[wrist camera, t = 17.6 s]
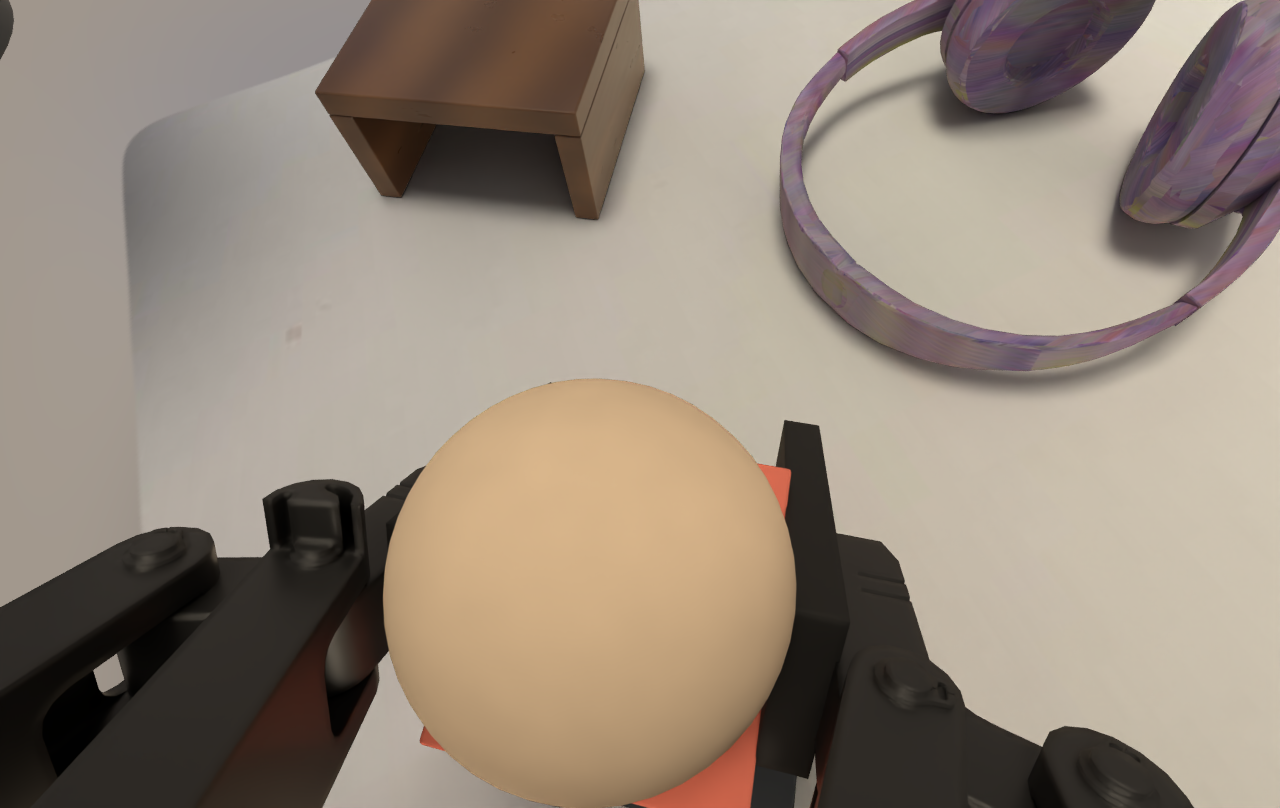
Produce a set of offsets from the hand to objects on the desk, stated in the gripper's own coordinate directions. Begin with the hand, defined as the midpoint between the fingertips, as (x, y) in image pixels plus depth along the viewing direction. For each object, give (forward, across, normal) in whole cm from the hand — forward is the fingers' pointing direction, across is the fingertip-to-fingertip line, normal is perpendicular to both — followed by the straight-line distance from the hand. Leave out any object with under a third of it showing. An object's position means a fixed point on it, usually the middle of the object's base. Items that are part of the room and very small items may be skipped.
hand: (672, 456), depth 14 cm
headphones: (+20, +11, +6) cm, 23 cm away
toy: (0, 0, -5) cm, 5 cm away
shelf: (+21, -13, +8) cm, 26 cm away
